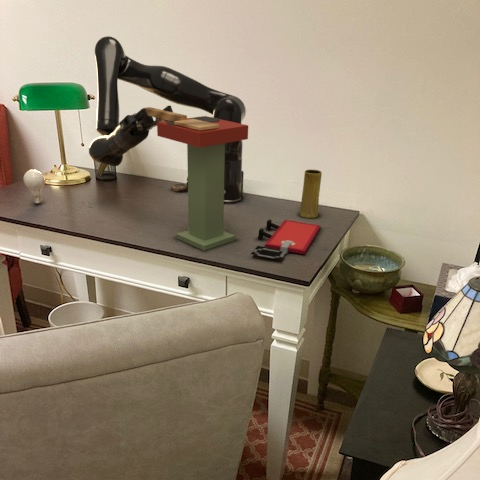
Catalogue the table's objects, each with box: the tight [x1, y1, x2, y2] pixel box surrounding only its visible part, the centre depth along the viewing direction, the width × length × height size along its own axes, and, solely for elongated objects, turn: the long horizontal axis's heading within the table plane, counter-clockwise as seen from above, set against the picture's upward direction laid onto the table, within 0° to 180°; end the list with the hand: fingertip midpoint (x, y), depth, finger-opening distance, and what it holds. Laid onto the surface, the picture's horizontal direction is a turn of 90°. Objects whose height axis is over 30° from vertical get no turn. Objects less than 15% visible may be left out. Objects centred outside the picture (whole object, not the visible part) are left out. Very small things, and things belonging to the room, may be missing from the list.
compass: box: [171, 176, 188, 193], centre depth 188 cm, size 8×8×7 cm
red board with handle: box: [250, 219, 321, 260], centre depth 150 cm, size 30×3×15 cm
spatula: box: [144, 106, 219, 131], centre depth 137 cm, size 26×6×2 cm, turn 45°
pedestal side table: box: [156, 115, 249, 251], centre depth 145 cm, size 18×17×31 cm
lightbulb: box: [22, 169, 46, 205], centre depth 169 cm, size 6×6×11 cm
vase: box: [298, 169, 323, 219], centre depth 168 cm, size 6×6×14 cm
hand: (158, 110), depth 141 cm, fingers open, 8 cm apart
